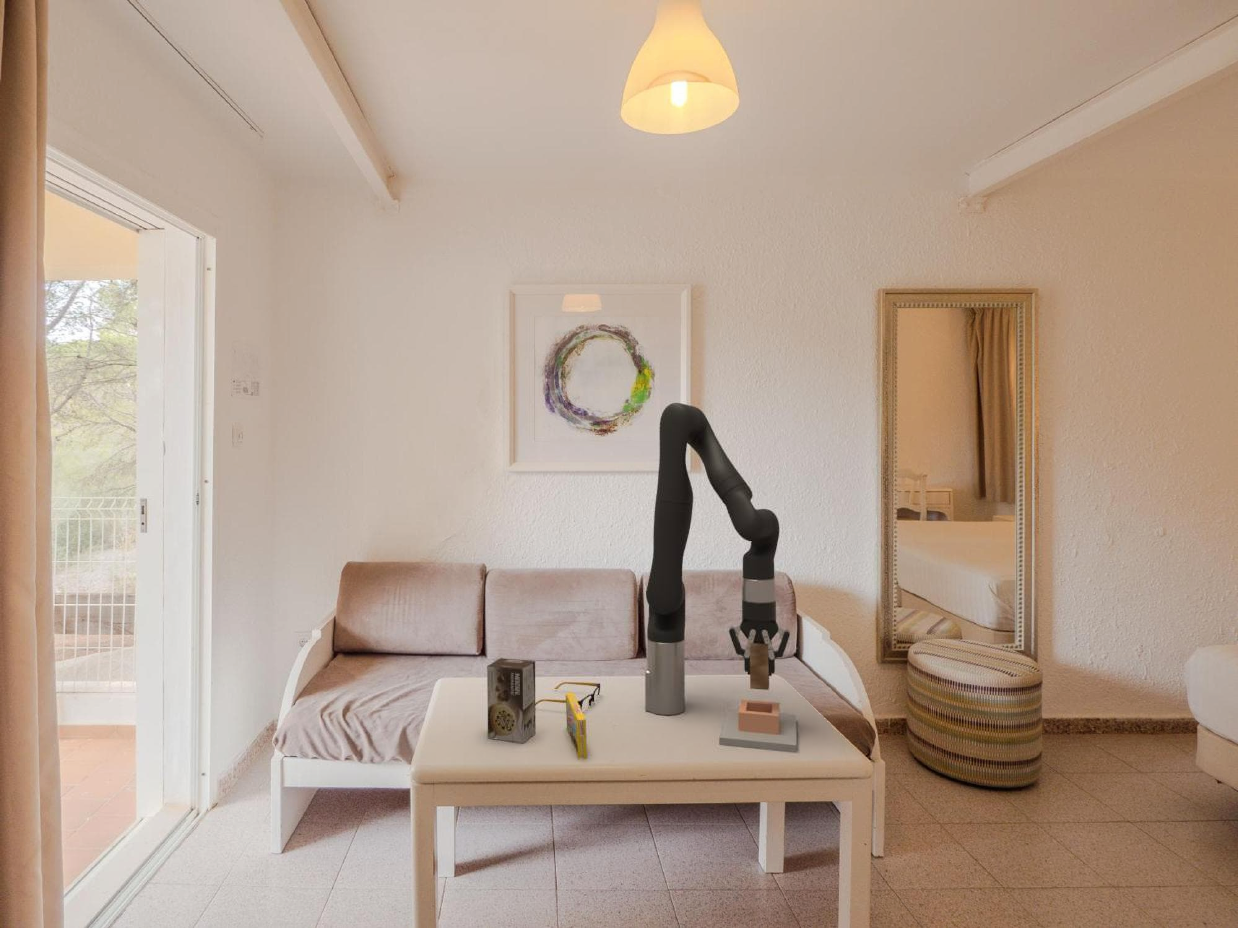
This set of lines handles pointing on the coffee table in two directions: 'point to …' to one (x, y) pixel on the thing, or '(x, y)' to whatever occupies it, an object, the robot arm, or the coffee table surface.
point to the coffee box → (511, 699)
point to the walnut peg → (759, 666)
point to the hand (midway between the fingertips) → (759, 673)
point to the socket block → (759, 727)
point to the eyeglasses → (577, 701)
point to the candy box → (576, 725)
